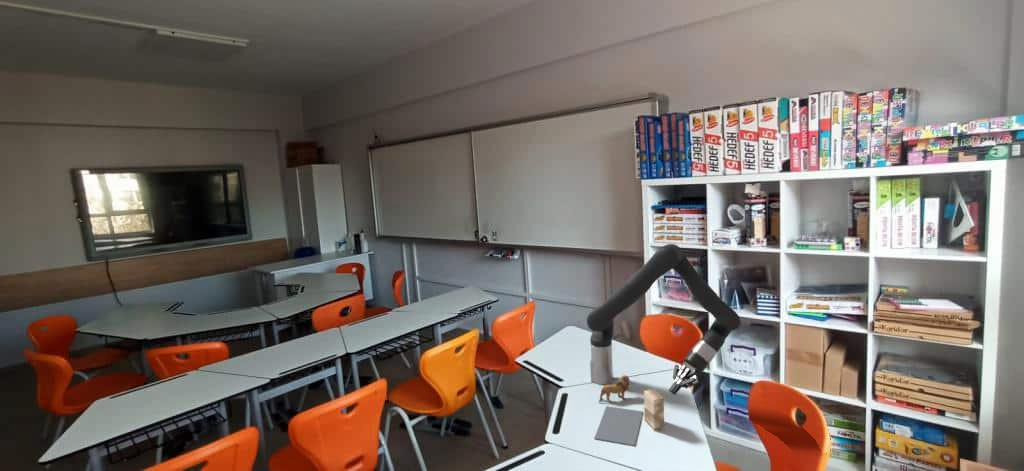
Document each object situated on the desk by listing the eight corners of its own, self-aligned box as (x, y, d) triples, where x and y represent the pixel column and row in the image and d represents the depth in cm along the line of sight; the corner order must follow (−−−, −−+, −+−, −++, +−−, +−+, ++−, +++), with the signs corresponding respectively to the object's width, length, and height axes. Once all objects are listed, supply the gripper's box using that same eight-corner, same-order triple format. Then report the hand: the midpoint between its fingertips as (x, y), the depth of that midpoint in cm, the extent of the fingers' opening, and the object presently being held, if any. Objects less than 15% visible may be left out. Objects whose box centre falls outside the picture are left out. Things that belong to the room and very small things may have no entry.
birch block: (654, 430, 166) (653, 400, 164) (644, 420, 172) (643, 390, 170) (664, 428, 167) (663, 398, 165) (654, 418, 173) (653, 389, 171)
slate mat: (594, 439, 163) (594, 438, 163) (606, 407, 183) (606, 406, 183) (634, 446, 158) (634, 445, 158) (642, 412, 178) (642, 411, 178)
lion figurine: (625, 392, 194) (624, 372, 192) (633, 397, 189) (632, 377, 187) (595, 400, 188) (594, 380, 187) (602, 406, 184) (601, 386, 182)
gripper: (683, 343, 175) (655, 379, 174) (705, 357, 162) (674, 395, 162) (696, 354, 177) (668, 389, 176) (718, 368, 164) (688, 406, 163)
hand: (671, 392), depth 169 cm, fingers closed
